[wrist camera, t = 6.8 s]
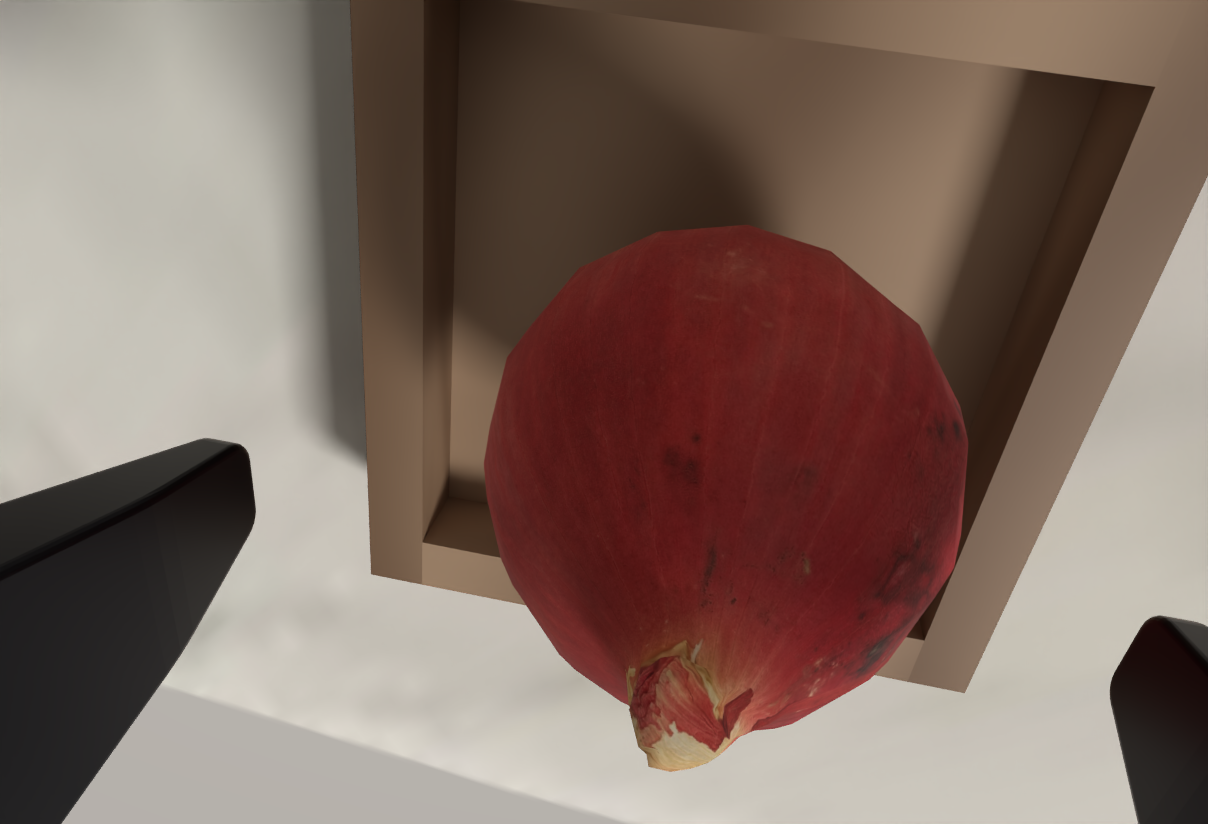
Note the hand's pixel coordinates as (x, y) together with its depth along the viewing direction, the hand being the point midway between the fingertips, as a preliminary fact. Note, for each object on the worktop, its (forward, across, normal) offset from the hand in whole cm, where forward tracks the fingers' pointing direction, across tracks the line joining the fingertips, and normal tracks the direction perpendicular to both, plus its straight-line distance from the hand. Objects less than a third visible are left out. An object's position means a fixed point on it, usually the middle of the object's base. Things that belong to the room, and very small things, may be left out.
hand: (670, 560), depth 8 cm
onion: (+6, 0, 0) cm, 6 cm away
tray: (+7, 0, 0) cm, 7 cm away
